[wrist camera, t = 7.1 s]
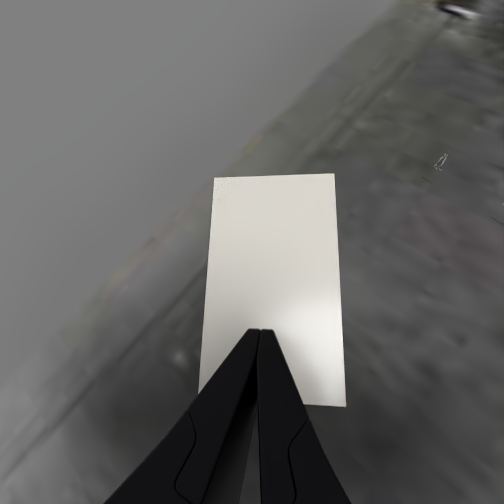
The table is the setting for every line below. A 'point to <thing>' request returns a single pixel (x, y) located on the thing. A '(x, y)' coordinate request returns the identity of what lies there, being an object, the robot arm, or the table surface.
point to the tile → (277, 278)
